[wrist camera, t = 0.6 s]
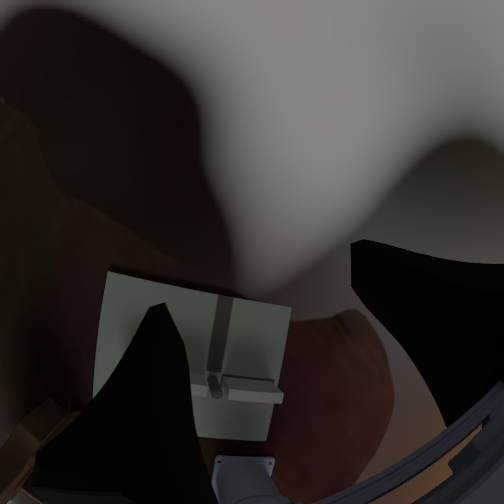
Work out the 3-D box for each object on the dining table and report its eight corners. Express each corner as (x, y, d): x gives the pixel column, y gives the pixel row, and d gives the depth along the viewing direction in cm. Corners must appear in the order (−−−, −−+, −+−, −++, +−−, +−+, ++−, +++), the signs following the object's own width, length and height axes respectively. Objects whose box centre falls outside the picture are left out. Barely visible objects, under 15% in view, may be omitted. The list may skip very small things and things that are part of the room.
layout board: (264, 438, 31) (266, 441, 31) (94, 411, 27) (92, 413, 26) (289, 306, 35) (291, 307, 34) (109, 271, 31) (108, 271, 30)
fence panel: (204, 374, 30) (207, 386, 26) (203, 384, 30) (206, 397, 26) (127, 359, 28) (118, 368, 24) (126, 369, 28) (117, 379, 24)
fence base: (268, 390, 32) (282, 404, 27) (206, 383, 30) (210, 398, 25) (270, 381, 32) (284, 394, 27) (207, 374, 31) (211, 387, 26)
